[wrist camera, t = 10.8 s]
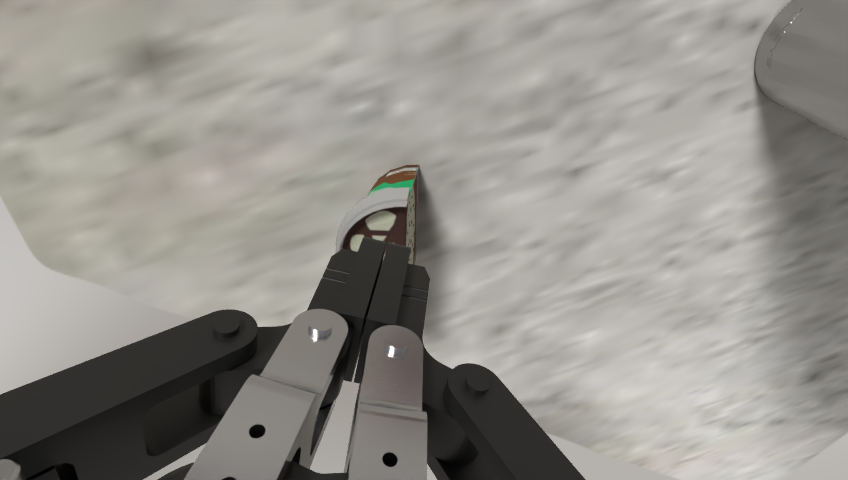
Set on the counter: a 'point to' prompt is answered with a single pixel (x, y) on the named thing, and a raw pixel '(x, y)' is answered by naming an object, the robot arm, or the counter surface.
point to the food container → (385, 213)
